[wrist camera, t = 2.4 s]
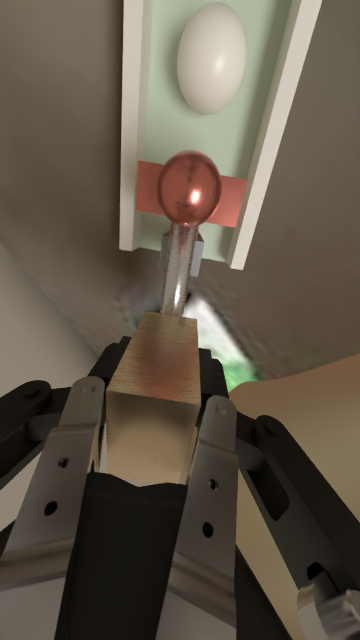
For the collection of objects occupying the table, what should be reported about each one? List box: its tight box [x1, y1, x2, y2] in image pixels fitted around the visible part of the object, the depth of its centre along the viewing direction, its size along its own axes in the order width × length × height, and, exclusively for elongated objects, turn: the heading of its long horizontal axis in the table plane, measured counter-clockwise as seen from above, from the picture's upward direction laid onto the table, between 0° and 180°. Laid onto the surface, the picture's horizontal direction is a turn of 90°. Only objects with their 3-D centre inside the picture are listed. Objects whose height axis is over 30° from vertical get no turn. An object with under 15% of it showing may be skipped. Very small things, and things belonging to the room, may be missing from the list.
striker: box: [106, 150, 248, 484], centre depth 12 cm, size 12×5×14 cm, turn 171°
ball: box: [177, 2, 248, 115], centre depth 12 cm, size 4×4×4 cm
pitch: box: [119, 0, 322, 277], centre depth 11 cm, size 22×10×8 cm, turn 171°
